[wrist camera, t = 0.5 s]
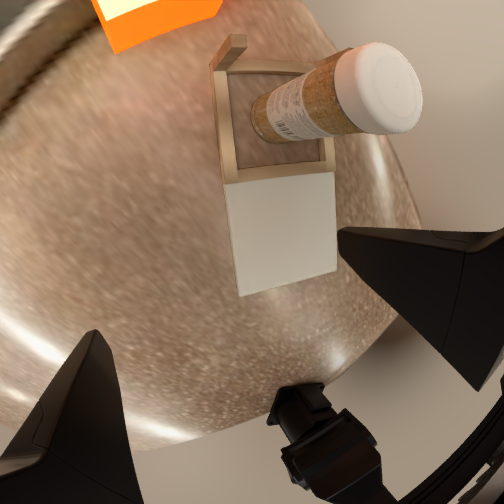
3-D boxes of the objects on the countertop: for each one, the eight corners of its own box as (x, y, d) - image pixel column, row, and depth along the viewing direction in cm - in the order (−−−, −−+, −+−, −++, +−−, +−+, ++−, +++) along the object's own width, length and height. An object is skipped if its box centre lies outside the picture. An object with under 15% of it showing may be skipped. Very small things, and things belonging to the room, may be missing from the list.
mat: (333, 268, 28) (336, 270, 28) (237, 294, 25) (239, 296, 25) (329, 166, 25) (333, 166, 24) (222, 178, 22) (224, 179, 21)
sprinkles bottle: (308, 121, 23) (436, 102, 11) (274, 155, 23) (399, 154, 11) (274, 82, 21) (390, 27, 9) (236, 115, 21) (340, 66, 9)
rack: (329, 171, 25) (374, 175, 20) (222, 183, 22) (247, 189, 17) (318, 67, 22) (359, 49, 16) (209, 64, 19) (230, 33, 13)
